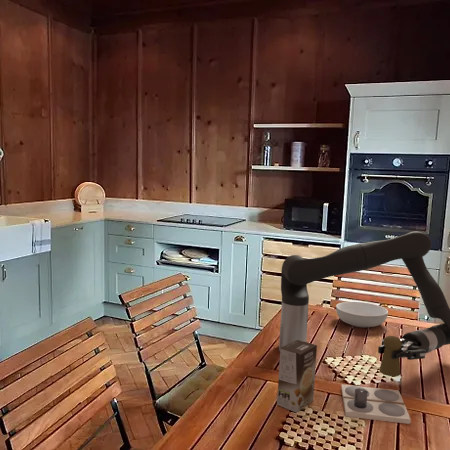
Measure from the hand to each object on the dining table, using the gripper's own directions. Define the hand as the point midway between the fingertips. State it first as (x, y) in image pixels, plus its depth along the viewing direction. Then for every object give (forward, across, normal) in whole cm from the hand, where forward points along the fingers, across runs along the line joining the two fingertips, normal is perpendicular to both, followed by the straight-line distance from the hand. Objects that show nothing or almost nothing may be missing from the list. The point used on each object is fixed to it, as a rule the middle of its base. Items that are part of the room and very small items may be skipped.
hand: (386, 352), depth 141 cm
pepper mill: (-3, 0, +7) cm, 7 cm away
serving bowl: (-39, -40, +10) cm, 57 cm away
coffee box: (+31, -5, +10) cm, 33 cm away
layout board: (+13, +7, +10) cm, 18 cm away
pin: (+19, +7, +8) cm, 22 cm away
